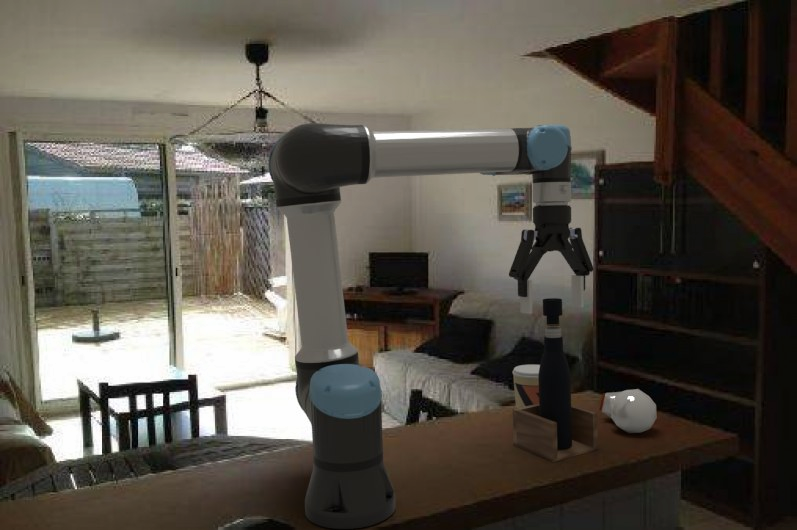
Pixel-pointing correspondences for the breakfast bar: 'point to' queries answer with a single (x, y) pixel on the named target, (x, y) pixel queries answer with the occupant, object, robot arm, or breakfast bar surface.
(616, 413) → the potion bottle
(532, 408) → the u rest
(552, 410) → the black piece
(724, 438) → the breakfast bar surface
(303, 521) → the breakfast bar surface
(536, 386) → the coffee cup
